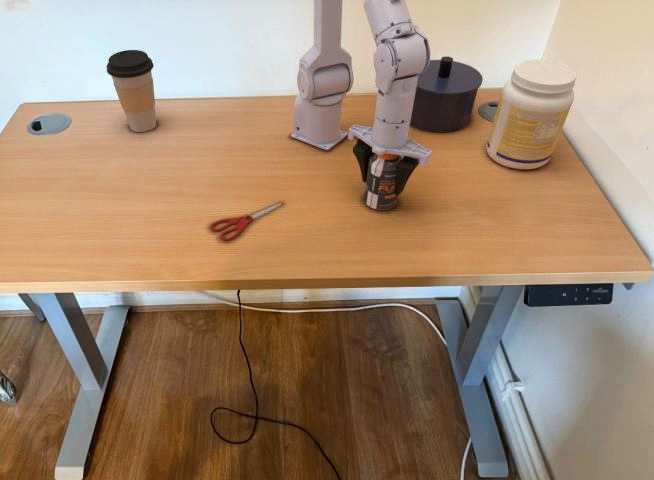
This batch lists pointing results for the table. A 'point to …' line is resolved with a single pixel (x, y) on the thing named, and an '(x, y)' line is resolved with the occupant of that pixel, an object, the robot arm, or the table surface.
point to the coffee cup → (134, 87)
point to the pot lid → (449, 78)
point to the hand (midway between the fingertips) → (382, 185)
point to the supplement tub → (531, 113)
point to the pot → (442, 111)
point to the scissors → (238, 223)
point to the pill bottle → (381, 181)
